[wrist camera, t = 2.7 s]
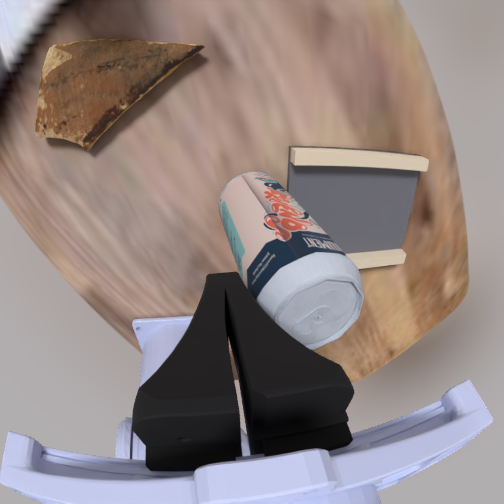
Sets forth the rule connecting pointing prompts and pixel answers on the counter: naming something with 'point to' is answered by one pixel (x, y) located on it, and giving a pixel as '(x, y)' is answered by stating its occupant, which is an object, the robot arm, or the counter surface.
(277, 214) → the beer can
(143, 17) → the counter surface
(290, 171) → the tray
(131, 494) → the robot arm
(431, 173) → the counter surface
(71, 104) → the shard
